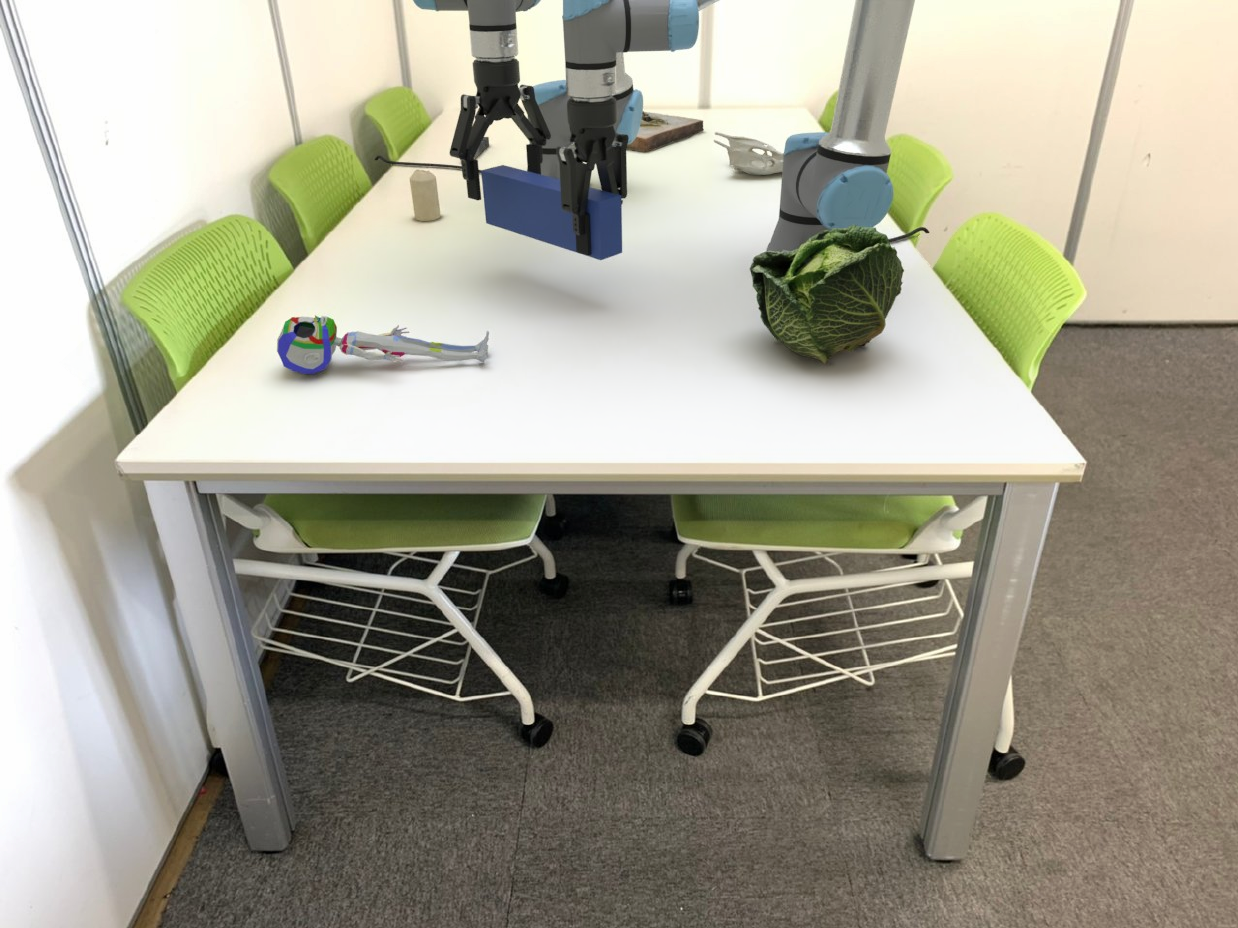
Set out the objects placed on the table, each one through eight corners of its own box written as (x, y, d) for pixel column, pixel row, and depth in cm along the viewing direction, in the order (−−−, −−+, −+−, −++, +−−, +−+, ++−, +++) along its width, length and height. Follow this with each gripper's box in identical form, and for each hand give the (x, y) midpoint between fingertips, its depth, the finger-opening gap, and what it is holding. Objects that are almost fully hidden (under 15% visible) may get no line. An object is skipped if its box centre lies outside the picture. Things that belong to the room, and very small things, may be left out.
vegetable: (780, 374, 144) (722, 268, 136) (876, 307, 145) (825, 198, 137) (841, 402, 125) (779, 281, 118) (951, 325, 127) (897, 200, 119)
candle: (445, 214, 196) (439, 168, 191) (432, 222, 192) (426, 174, 186) (423, 212, 198) (416, 166, 192) (410, 220, 193) (403, 172, 188)
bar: (486, 223, 160) (480, 170, 155) (507, 217, 163) (502, 165, 158) (600, 260, 143) (599, 202, 138) (622, 252, 146) (621, 195, 141)
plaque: (647, 125, 237) (559, 112, 252) (647, 153, 241) (560, 139, 256) (706, 107, 258) (622, 97, 273) (705, 133, 262) (622, 121, 277)
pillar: (488, 137, 250) (469, 154, 234) (489, 145, 251) (470, 162, 235) (480, 137, 251) (461, 154, 234) (481, 145, 252) (462, 162, 235)
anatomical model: (715, 128, 226) (816, 127, 222) (715, 166, 231) (813, 165, 227) (712, 142, 213) (818, 141, 210) (711, 181, 218) (815, 181, 215)
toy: (488, 343, 128) (268, 326, 123) (485, 396, 132) (272, 381, 127) (490, 315, 136) (284, 298, 132) (486, 366, 141) (287, 351, 136)
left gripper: (446, 69, 135) (461, 210, 147) (567, 52, 151) (572, 180, 162) (417, 65, 140) (434, 201, 151) (538, 48, 155) (544, 173, 166)
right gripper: (564, 109, 126) (571, 268, 139) (650, 91, 137) (650, 240, 149) (529, 103, 131) (539, 257, 143) (615, 86, 141) (618, 231, 154)
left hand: (505, 191), depth 156 cm, fingers open, 13 cm apart
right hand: (596, 248), depth 146 cm, fingers closed on bar, 5 cm apart
